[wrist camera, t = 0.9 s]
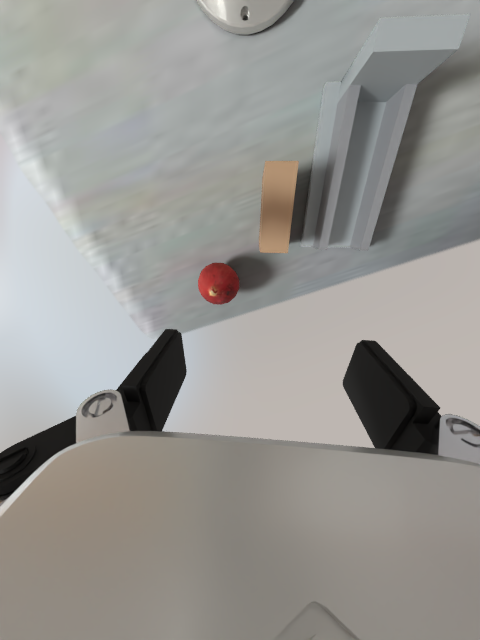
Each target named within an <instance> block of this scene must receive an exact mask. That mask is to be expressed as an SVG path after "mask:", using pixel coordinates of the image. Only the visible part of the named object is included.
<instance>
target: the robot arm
mask: <svg viewBox="0 0 480 640" xmlns="http://www.w3.org/2000/svg"><path fill="white" fill-rule="evenodd" d="M196 1H197V3H198V4H199V6H200V7H201V9H202V10H203V12H204V13H205V14H206V15H207V16H208V17H209V18H210V19H211V20H212V21H213V22H214V23H215V24H216V25H218V26H219V27H221V28H222V29H224V30H226V31H229V32H232V33H234V34H246V35H249V34H252V33H256V32H260V31H262V30H264V29H265V28H267V27H269V26H271V25H272V24H273V23H275V22H276V21H277V20H278V19H279V18H280V17H281V16H282V15H283V14H284V13H285V12H286V11H287V9H288V8H289V7H290V5H291V4H292V3H293V1H294V0H196ZM244 19H247V20H246V21H244ZM185 376H186V364H185V357H184V350H183V344H182V336H181V333H180V332H178V331H177V330H173V329H166V330H165V331H164V332H163V333H162V335H161V336H160V337H159V338H158V340H157V341H156V342H155V343H154V345H153V346H152V347H151V348H150V350H149V351H148V352H147V353H146V354H145V355H144V356H143V357H142V359H141V360H140V361H139V362H138V364H137V365H136V366H135V367H134V369H133V370H132V371H131V372H130V374H129V375H128V376H127V377H126V379H125V380H124V381H123V382H122V384H121V385H120V386H119V387H118V389H117V390H104V391H100V392H97V393H95V394H93V395H91V396H90V397H88V398H87V399H86V400H85V401H84V402H83V403H81V405H80V406H79V408H78V409H77V413H76V416H75V417H72V418H70V419H68V420H66V421H64V422H62V423H60V424H57V425H55V426H53V427H51V428H49V429H47V430H45V431H42V432H40V433H38V434H36V435H34V436H32V437H30V438H27V439H26V440H23V441H21V442H19V443H17V444H15V445H13V446H11V447H9V448H7V449H6V450H4V451H3V452H1V453H0V640H480V426H478V425H477V424H475V423H473V422H471V421H469V420H467V419H465V418H462V417H460V416H456V415H452V414H445V415H443V416H441V415H440V414H439V413H438V410H439V409H440V407H439V406H438V405H437V404H436V403H435V402H434V401H433V400H432V399H431V398H430V397H429V396H428V395H427V394H426V393H425V392H424V391H423V389H421V387H420V386H419V385H418V384H417V383H416V382H415V381H414V380H413V379H412V378H411V377H410V376H409V375H408V374H407V373H406V372H405V371H404V370H403V369H402V368H401V367H400V366H399V365H398V364H397V363H396V362H395V361H394V360H393V358H392V357H391V356H390V355H389V354H388V353H387V352H386V351H385V350H384V349H383V348H382V347H381V346H380V345H379V344H378V343H377V342H376V341H368V340H362V341H361V342H360V343H357V345H356V347H355V350H354V353H353V355H352V358H351V361H350V363H349V366H348V369H347V371H346V374H345V377H344V379H343V387H344V389H345V391H346V393H347V394H348V396H349V399H350V400H351V402H352V404H353V406H354V408H355V410H356V412H357V414H358V416H359V418H360V420H361V422H362V424H363V425H364V427H365V429H366V431H367V433H368V435H369V437H370V439H371V441H372V442H373V445H374V447H375V448H365V447H354V446H343V445H331V444H319V443H308V442H295V441H283V440H271V439H258V438H246V437H234V436H220V435H208V434H195V433H179V432H162V429H163V427H164V424H165V422H166V420H167V418H168V416H169V413H170V411H171V408H172V406H173V404H174V401H175V399H176V397H177V395H178V392H179V390H180V388H181V386H182V383H183V381H184V379H185Z"/></svg>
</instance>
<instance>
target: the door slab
mask: <svg viewBox="0 0 480 640" xmlns="http://www.w3.org/2000/svg"><path fill="white" fill-rule="evenodd" d="M298 162H299V161H265V167H264V173H263V180H262V198H261V217H260V236H259V248H260V252H261V253H288V246H289V238H290V229H291V221H292V213H293V204H294V196H295V187H296V179H297V171H298Z"/></svg>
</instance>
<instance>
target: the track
mask: <svg viewBox="0 0 480 640" xmlns="http://www.w3.org/2000/svg"><path fill="white" fill-rule="evenodd" d="M469 17H470V14H451V15H428V16H404V17H381V18H380V19H379V21H378V22H377V24H376V26H375V27H374V29H373V30H372V32H371V34H370V35H369V37H368V39H367V40H366V42H365V43H364V45H363V47H362V48H361V50H360V52H359V53H358V55H357V56H356V58H355V60H354V61H353V63H352V65H351V66H350V68H349V70H348V71H347V73H346V74H345V76H344V78H343V79H342V81H329V82H326V83H325V85H324V87H323V94H322V101H321V107H320V114H319V121H318V128H317V135H316V142H315V149H314V156H313V163H312V170H311V176H310V183H309V190H308V197H307V204H306V211H305V218H304V225H303V232H302V239H301V246H306V247H315V248H317V249H324V250H327V248H328V247H350V248H353V249H357V250H369V246H370V243H371V239H372V236H373V233H374V229H375V226H376V223H377V219H378V216H379V212H380V209H381V206H382V202H383V199H384V196H385V192H386V189H387V186H388V182H389V179H390V175H391V172H392V169H393V165H394V162H395V159H396V155H397V152H398V148H399V145H400V142H401V138H402V135H403V132H404V128H405V125H406V121H407V118H408V115H409V111H410V108H411V105H412V101H413V98H414V94H415V91H416V88H417V84H418V83H419V82H420V81H422V80H423V79H424V78H425V77H426V76H427V75H429V74H430V73H431V72H432V71H433V70H434V69H436V68H437V67H438V66H439V65H440V64H442V63H443V62H444V61H445V60H446V59H447V58H449V57H450V56H451V55H452V54H453V53H455V52H456V51H457V50H458V49H459V47H460V44H461V41H462V38H463V35H464V32H465V29H466V26H467V23H468V20H469Z"/></svg>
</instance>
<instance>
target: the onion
mask: <svg viewBox="0 0 480 640" xmlns="http://www.w3.org/2000/svg"><path fill="white" fill-rule="evenodd" d="M198 286H199V291H200V293H201V295H202V296H203V297H204V298H205V299H206V300H207V301H208V302H211V303H213V304H224V303H228V302H229V301H231V300H232V299H233V298H234V297H235V296H236V294H237V292H238V290H239V278H238V276H237V274H236V272H235V271H234V270H233V269H232V268H231V267H230V266H228V265H226V264H224V263H212V264H210V265H208V266H206V267H205V268H204V269H203V270H202V271H201V273H200V276H199V280H198Z"/></svg>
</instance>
